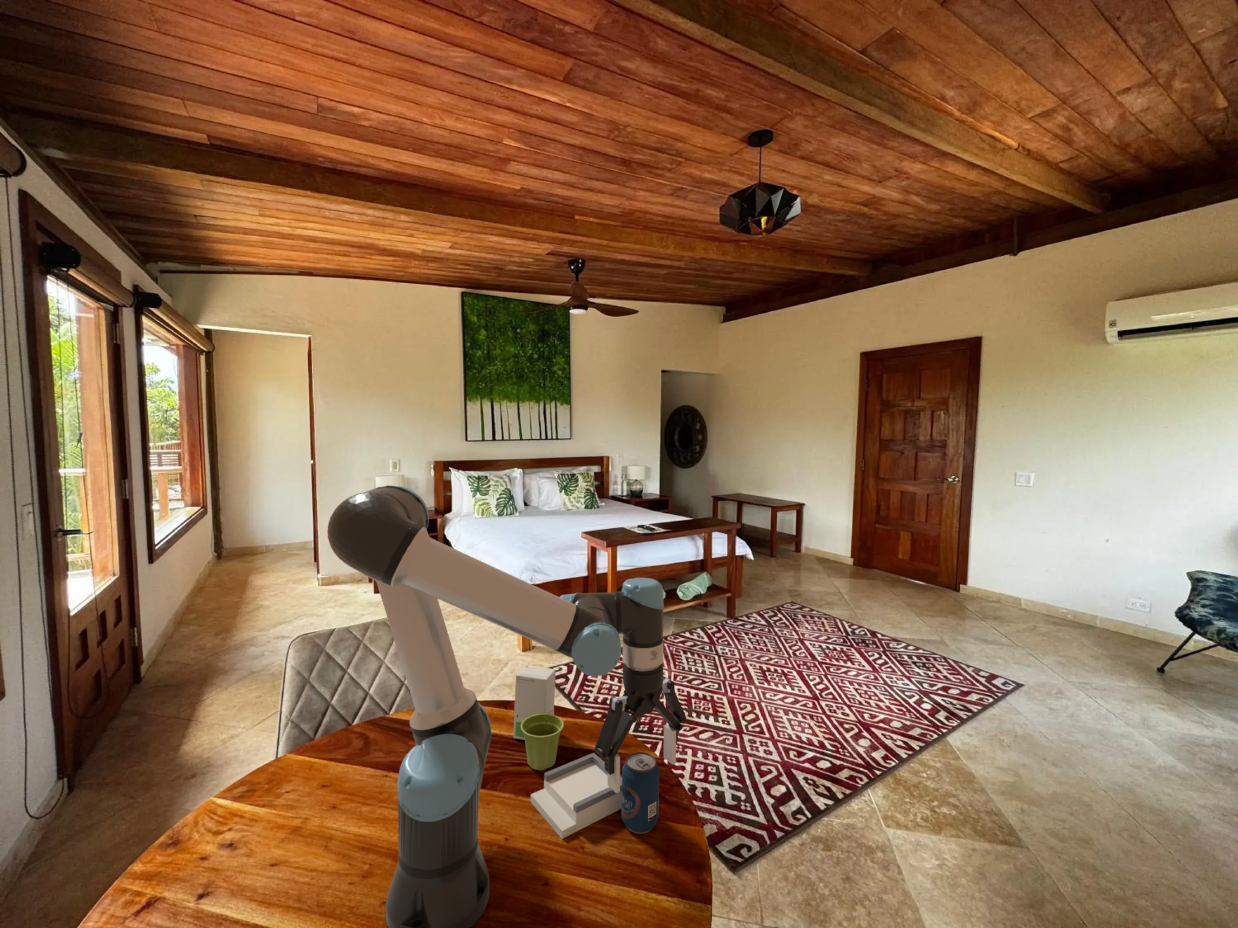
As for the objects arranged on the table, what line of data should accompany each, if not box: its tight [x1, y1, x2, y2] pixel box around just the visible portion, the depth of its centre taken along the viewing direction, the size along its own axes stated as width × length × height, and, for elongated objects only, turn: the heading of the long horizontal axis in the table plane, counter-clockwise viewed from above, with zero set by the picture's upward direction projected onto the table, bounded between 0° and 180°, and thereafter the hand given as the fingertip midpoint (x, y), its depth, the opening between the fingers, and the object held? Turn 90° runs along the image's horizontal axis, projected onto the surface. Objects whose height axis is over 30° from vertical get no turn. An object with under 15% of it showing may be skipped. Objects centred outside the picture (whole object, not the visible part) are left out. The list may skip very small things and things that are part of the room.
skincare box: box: [513, 664, 556, 741], centre depth 128 cm, size 8×7×16 cm
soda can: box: [620, 751, 660, 835], centre depth 99 cm, size 7×7×12 cm
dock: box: [530, 752, 622, 840], centre depth 104 cm, size 15×12×5 cm
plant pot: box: [521, 713, 565, 771], centre depth 117 cm, size 9×9×9 cm
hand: (642, 773), depth 99 cm, fingers open, 13 cm apart
